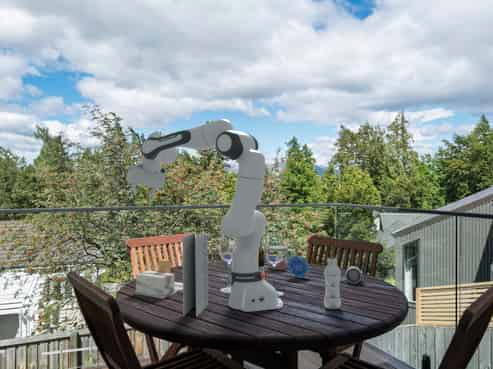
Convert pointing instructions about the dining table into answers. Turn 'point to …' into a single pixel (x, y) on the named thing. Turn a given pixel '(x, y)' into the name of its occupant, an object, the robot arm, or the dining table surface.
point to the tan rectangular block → (164, 266)
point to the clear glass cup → (284, 263)
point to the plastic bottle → (332, 284)
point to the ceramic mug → (352, 275)
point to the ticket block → (157, 284)
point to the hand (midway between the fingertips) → (142, 194)
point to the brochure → (195, 273)
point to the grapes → (298, 266)
